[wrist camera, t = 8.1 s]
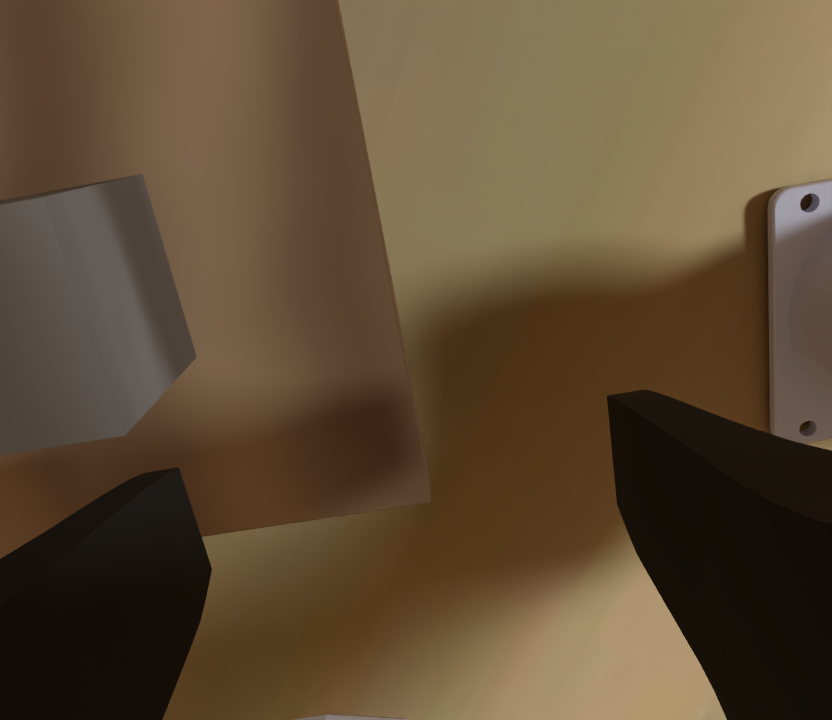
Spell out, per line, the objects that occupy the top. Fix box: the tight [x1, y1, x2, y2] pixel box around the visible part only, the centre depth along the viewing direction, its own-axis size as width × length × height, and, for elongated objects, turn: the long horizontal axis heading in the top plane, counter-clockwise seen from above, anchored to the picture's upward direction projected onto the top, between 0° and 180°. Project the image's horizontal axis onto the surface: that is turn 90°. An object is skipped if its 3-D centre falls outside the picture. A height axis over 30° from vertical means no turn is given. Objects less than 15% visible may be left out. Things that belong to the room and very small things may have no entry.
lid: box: [0, 0, 431, 559], centre depth 14 cm, size 13×13×5 cm
